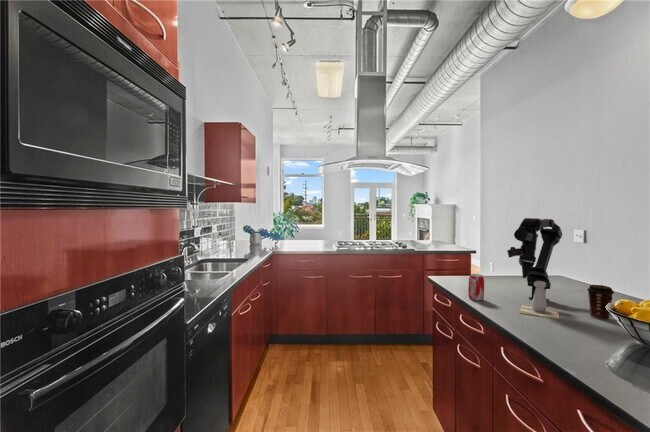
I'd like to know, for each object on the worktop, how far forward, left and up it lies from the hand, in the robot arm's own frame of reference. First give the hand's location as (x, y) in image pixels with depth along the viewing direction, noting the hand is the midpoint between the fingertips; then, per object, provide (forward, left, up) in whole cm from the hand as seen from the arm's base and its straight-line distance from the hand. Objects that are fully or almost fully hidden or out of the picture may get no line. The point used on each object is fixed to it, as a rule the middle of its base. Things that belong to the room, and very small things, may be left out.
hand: (524, 277), depth 162 cm
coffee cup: (-11, +25, -13) cm, 31 cm away
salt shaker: (+4, +10, -13) cm, 16 cm away
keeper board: (+4, +10, -13) cm, 17 cm away
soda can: (+12, -17, -13) cm, 24 cm away
